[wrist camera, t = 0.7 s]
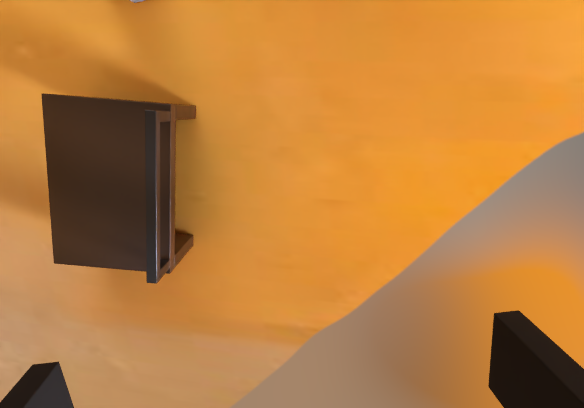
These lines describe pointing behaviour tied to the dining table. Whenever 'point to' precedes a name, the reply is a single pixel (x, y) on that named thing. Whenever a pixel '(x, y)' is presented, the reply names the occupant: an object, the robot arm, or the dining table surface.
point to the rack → (113, 182)
